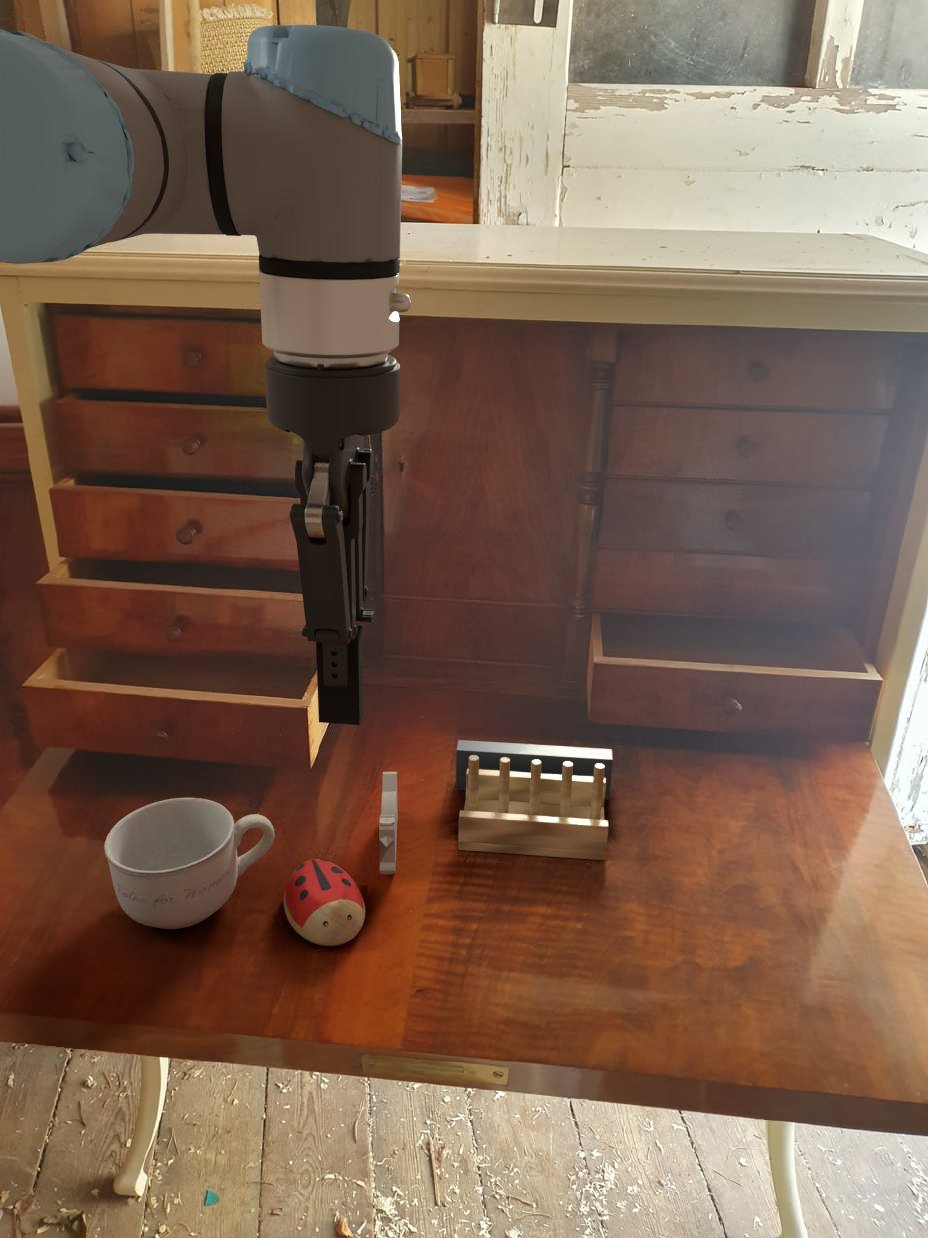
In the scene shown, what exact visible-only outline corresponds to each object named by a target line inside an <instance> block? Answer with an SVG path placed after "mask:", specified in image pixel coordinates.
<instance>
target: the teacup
mask: <svg viewBox="0 0 928 1238" xmlns="http://www.w3.org/2000/svg"><path fill="white" fill-rule="evenodd" d="M252 829H259V830H261V832H262V834H263V835H262V837H261V839H260V840H259V842H258V843H257V844H256V845H255V846H254V847H252V848H251V849H250V850H248V851H247V852H245V853H243V854H242V855H239V856H238V850H237V849H238V847H239V846H240V844H241V841H242V838H243V835H244V834H245V833H246V832H248V831H249V830H252ZM275 837H276V834H275V828H274V826H273V824H272V822H271V821H270V820H269V818H267V817H266V816H264V815H262V814H257V813H253V814H248V815H245V816H243V817H241V818H240V819H238V820H237V821H236V822H235V820H234V817H233V815H232V813H231V812H230V811H229V810H228V809H227V808H226V807H225V806H224V805H222V804H221V803H218V802H217V801H214V800H210V799H206V798H200V797H176V798H169V799H164V800H160V801H155V802H153V803H150V804H146V805H144V806H143V807H140V808H137V809H135V810H134V811H132V812H130V813H129V814H127V815H125V816H124V817H122V818H121V819H120V820H119V821H118V822H117V823H115V825H113V827H112V828H111V829H110V831H109V833H108V834H107V836H106V839H105V841H104V845H103V849H104V856H105V858H106V859H107V861H108V867H109V872H110V877H111V880H112V886H113V890H114V892H115V896H116V899H117V901H118V903H119V906H120V907H121V909H122V911H124V913H125V914H126V915H127V916H128V917H129V918H131V919H132V920H133V921H135V922H137V923H139V924H141V925H144V926H147V927H151V928H157V929H163V930H178V929H184V928H189V927H191V926H194V925H196V924H199V923H201V922H203V921H205V920H207V918H209V917H211V916H212V915H214V913H216V912H218V910H220V909H221V908H222V907H223V906H224V905H225V904H226V903H227V902H228V900H229V899H230V898H231V896H232V894H233V892H234V891H235V888H236V886H237V881H238V878H239V877H242V876H243V875H244V874H245V872H246V870H247V869H248V868H249V867H251V866H252V865H254V864H255V863H256V862H258V861H260V859H261V858H263V857H264V856H265V855H266V854H267V852H269V850H271V847H272V846H273V844H274V840H275Z"/></svg>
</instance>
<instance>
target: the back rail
mask: <svg viewBox="0 0 928 1238" xmlns="http://www.w3.org/2000/svg"><path fill="white" fill-rule="evenodd" d="M455 752H456V753H455V790H456V791H464V792H466V772H467V769H469V757H470V756H471V755H476V756H478V757H479V769H483V770H498V771H500V759H501V758H502V757H507V758H509V759H510V771H513V772H528V773H531V761H532V760H534V759H539V760H540V761H541V762H542V766H541V773H543V774H559V775H562V767H563V762H565V761H570V762H572V763H573V775H574V776H589V777H594V766H595V764H597V763H601V764H603V765H604V766H605V772H604V778H606V790H605V801H610V795H611V785H612V774H613V765H614V764H613V762H614V757H613V749H612V748H597V747H582V746H581V747H580V746H566V745H564V746H563V745H548V744H533V743H532V744H531V743H517V742H515V743H514V742H499V741H484V740H469V739H468V740H466V739H465V740H464V739H457V743H456V750H455Z"/></svg>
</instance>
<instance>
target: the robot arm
mask: <svg viewBox="0 0 928 1238" xmlns="http://www.w3.org/2000/svg"><path fill="white" fill-rule="evenodd" d="M246 45H247V46H246V47H247V49H246V59H245V60H244V61H243V71H235V70H234V71H232V70H231V71H229V72H215V73H204V72H203V73H201V72H188V71H187V72H186V71H173V70H162V69H161V70H159V69H146V68H145V69H144V68H143V69H142V68H130V67H125V66H121V65H118V64H116V63H115V64H114V63H110V62H107V61H103V60H101V59H97V58H92V57H88V56H85V55H83V54H79V53H76V52H73V51H71V50H68V49H64V48H61V47H59V46H58V45H56V44H54V43H51V42H48V41H45V40H43V39H41V38H39V37H37V36H35V35H33V34H32V33H29V32H26V31H20V30H16V29H5V28H0V263H3V264H15V265H23V264H24V265H25V264H43V263H55V262H60V261H61V262H62V261H65V260H68V259H71V258H74V257H75V256H78V255H80V254H82V253H84V252H85V251H87V250H88V249H93V248H95V247H99V246H102V245H105V244H109V243H115V242H118V241H124V240H126V239H131V238H135V237H138V236H142V235H155V234H156V235H157V234H159V235H211V236H212V235H213V236H215V235H216V236H217V235H218V236H219V235H221V236H222V235H223V236H224V235H225V236H227V237H241V236H255V237H256V242H257V243H256V244H257V249H258V278H259V279H258V280H259V281H258V282H259V299H260V301H259V302H260V303H259V304H260V320H261V321H260V323H261V325H260V326H261V343H262V345H263V346H264V347H265V348H266V349H267V350H269V351H272V352H273V354H271V355H269V357H268V358H267V360H266V361H265V362H264V364H263V365H264V366H263V367H264V382H265V383H264V384H265V385H264V386H265V403H266V417H267V419H268V421H269V422H270V424H271V425H272V426H273V427H275V428H277V429H278V430H281V431H284V432H286V433H293V434H296V435H297V436H299V437H300V438H301V439H302V441H303V448H302V459H296V461H295V465H294V483H295V484H294V485H295V486H294V487H295V490H296V491H297V492H298V493H299V500H300V501H299V502H300V503H293V504H292V505H291V507H290V510H289V520H290V523H291V528H292V531H293V535H294V537H295V542H296V550H297V551H296V552H297V559H298V567H299V577H300V586H301V594H302V602H303V611H304V613H303V614H304V621H305V624H304V625H303V627H302V630H301V636H302V637H303V638H307V641H308V642H315V654H316V656H315V657H316V683H317V684H316V686H317V710H318V711H317V712H318V723H323V724H338V725H351V726H352V725H354V726H360V725H361V722H362V719H363V716H364V656H363V655H364V650H363V647H364V646H363V643H364V641H363V625H357V623H358V622H359V623H371V624H372V623H373V622H374V619H375V608H373V609H372V608H364V602H366V600H367V599H368V596H369V587H368V567H369V537H370V535H369V534H370V510H371V509H370V507H371V506H370V503H371V483H372V482H371V479H372V475H373V474H374V461H375V456H374V453H373V449H372V448H365V437H366V436H371V435H375V434H379V433H383V432H385V431H388V430H389V429H392V428H393V427H394V426H395V425H396V424H397V423H398V422H399V419H400V414H401V365H400V363H399V362H398V361H397V359H396V358H395V357H394V356H392V355H390V353H392V352H393V351H394V350H395V349H396V348H397V347H398V346H399V345H400V316H399V313H407V312H409V311H410V310H411V309H412V308H411V307H412V301H411V298H410V295H409V294H407V293H404V292H399V293H397V287H398V286H399V285H400V275H399V274H400V273H401V260H400V259H401V224H402V223H401V222H402V176H403V175H402V171H403V169H402V168H403V136H402V114H401V113H402V112H401V89H400V67H399V66H400V65H399V64H400V63H399V59H398V56H397V53H396V52H395V50H394V49H393V48H392V46H391V45H390V44H389V42H388V41H387V40H386V39H385V38H384V37H382V36H380V35H378V34H377V33H374V32H371V31H367V30H364V29H363V30H362V29H359V28H358V29H357V28H350V27H344V26H335V25H322V24H321V25H320V24H292V25H286V24H285V25H284V24H273V25H272V24H271V25H265V26H260V27H257V28H255V29H254V30H253V31H252V32H251V33H250V34H249V35H248V39H247V44H246Z"/></svg>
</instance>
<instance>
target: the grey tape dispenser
mask: <svg viewBox="0 0 928 1238" xmlns="http://www.w3.org/2000/svg"><path fill="white" fill-rule="evenodd" d="M381 780H382V782H381V783H382V785H381V805H380V807H381V809H380V810H381V811H380V814H379V818H378V819H379V821H378V822H379V823H378V840H379V841H378V842H379V844H378V845H379V875H396V872H397V871H396V868H397V845H398V841H397V839H398V832H397V831H398V822H399V808H398V805H399V803H398V771H382V779H381Z"/></svg>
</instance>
